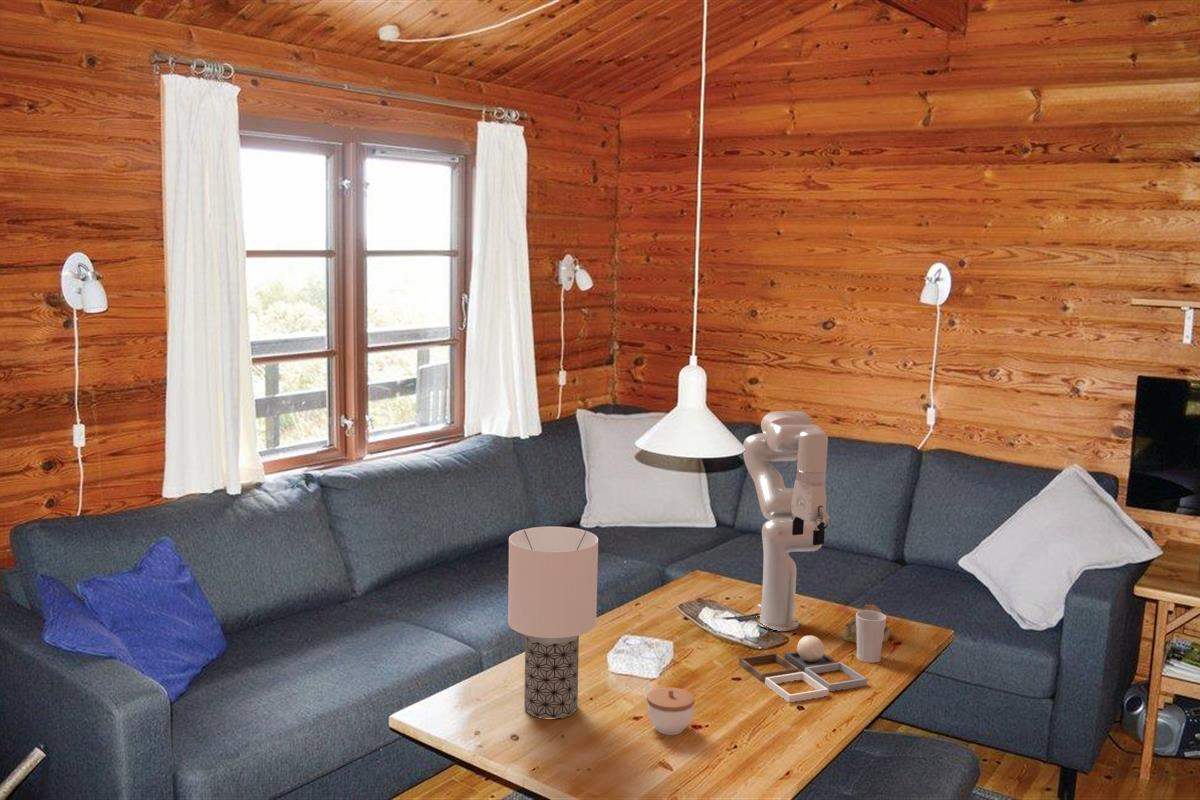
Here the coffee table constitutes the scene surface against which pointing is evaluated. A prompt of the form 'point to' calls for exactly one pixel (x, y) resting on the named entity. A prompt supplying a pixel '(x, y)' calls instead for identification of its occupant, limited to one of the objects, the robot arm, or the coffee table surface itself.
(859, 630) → the cup
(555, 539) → the lamp
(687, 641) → the coffee table surface
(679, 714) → the lidded jar
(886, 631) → the ceramic model
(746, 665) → the walnut frame
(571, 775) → the coffee table surface
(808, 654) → the beige ball
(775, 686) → the white frame
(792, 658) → the dark grey tray
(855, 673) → the grey frame
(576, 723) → the coffee table surface
